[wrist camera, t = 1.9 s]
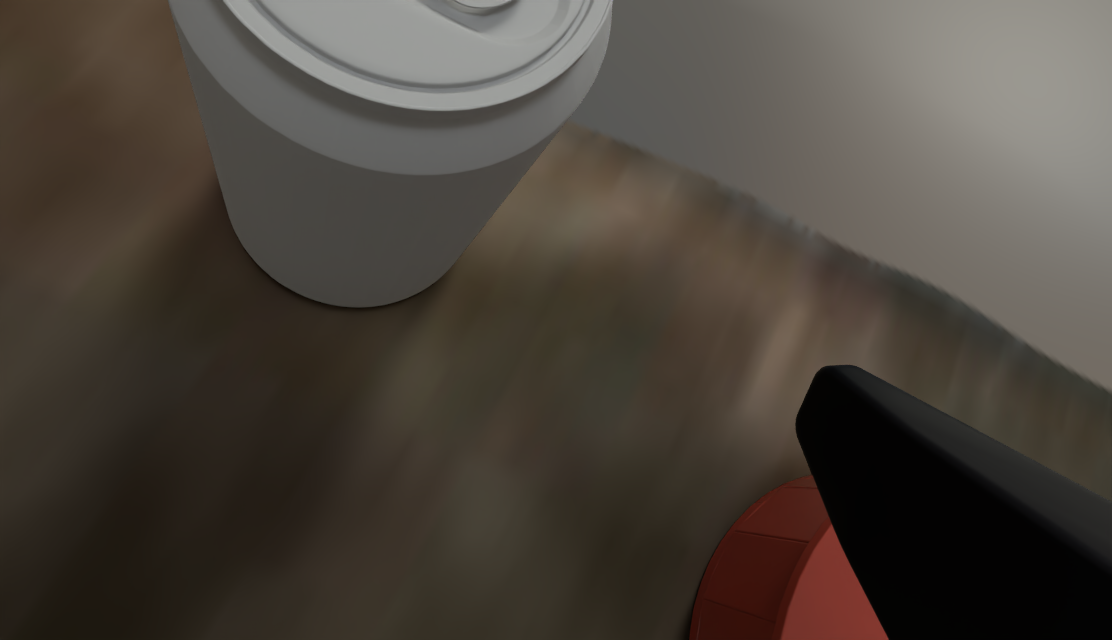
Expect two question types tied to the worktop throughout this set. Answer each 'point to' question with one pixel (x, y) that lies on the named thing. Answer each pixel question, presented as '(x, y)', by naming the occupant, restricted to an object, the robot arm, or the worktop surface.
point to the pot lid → (825, 596)
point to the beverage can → (379, 125)
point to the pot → (757, 564)
